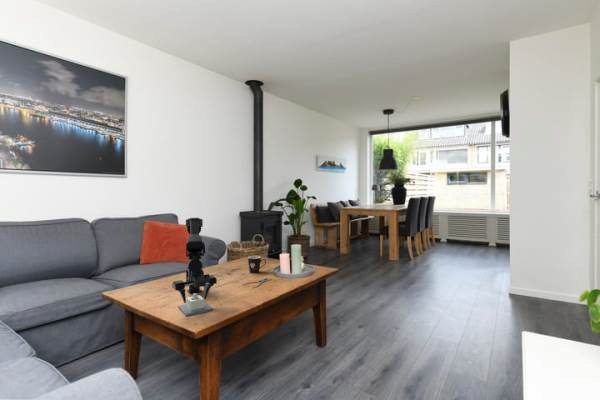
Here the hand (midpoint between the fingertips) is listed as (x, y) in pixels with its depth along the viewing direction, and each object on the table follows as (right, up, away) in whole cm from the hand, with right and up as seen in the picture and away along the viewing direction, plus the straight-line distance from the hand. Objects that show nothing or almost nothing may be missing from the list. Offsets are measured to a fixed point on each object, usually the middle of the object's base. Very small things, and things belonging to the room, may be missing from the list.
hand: (195, 301), depth 145 cm
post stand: (0, -4, 0) cm, 4 cm away
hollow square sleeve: (0, -3, 0) cm, 3 cm away
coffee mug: (+19, -2, +66) cm, 69 cm away
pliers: (+22, -3, +43) cm, 48 cm away
